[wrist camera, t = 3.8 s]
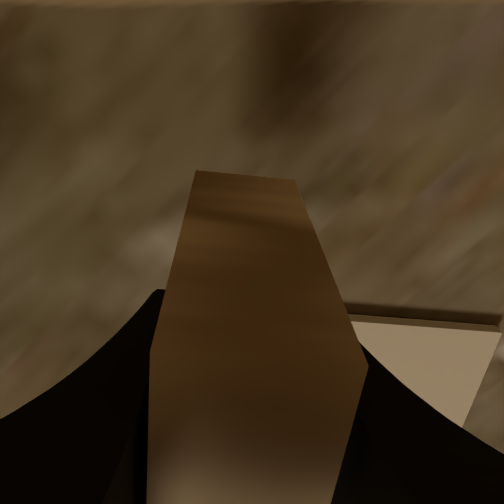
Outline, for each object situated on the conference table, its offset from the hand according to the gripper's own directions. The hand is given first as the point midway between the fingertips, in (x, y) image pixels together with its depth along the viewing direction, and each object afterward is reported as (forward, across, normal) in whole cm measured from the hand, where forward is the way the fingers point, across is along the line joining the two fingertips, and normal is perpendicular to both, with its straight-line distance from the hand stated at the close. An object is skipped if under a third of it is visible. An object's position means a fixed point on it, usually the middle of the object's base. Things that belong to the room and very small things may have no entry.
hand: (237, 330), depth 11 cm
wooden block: (+3, 0, 0) cm, 3 cm away
